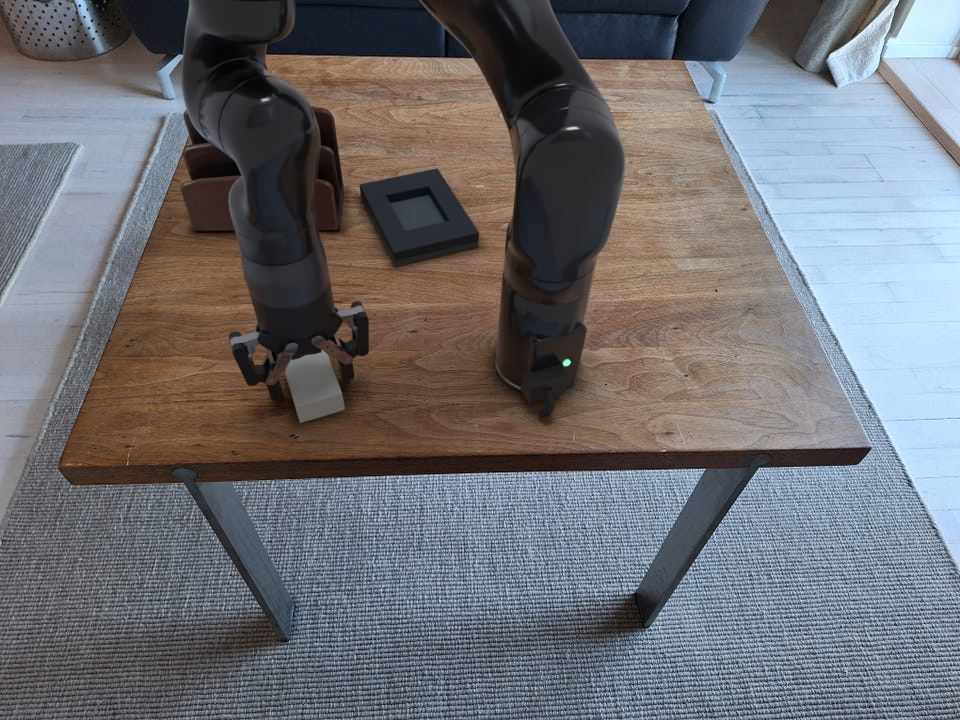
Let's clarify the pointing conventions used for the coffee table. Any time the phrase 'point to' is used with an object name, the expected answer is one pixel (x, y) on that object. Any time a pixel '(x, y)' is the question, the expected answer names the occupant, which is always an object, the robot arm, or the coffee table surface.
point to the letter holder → (220, 173)
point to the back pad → (418, 217)
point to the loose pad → (314, 386)
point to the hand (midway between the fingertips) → (313, 388)
